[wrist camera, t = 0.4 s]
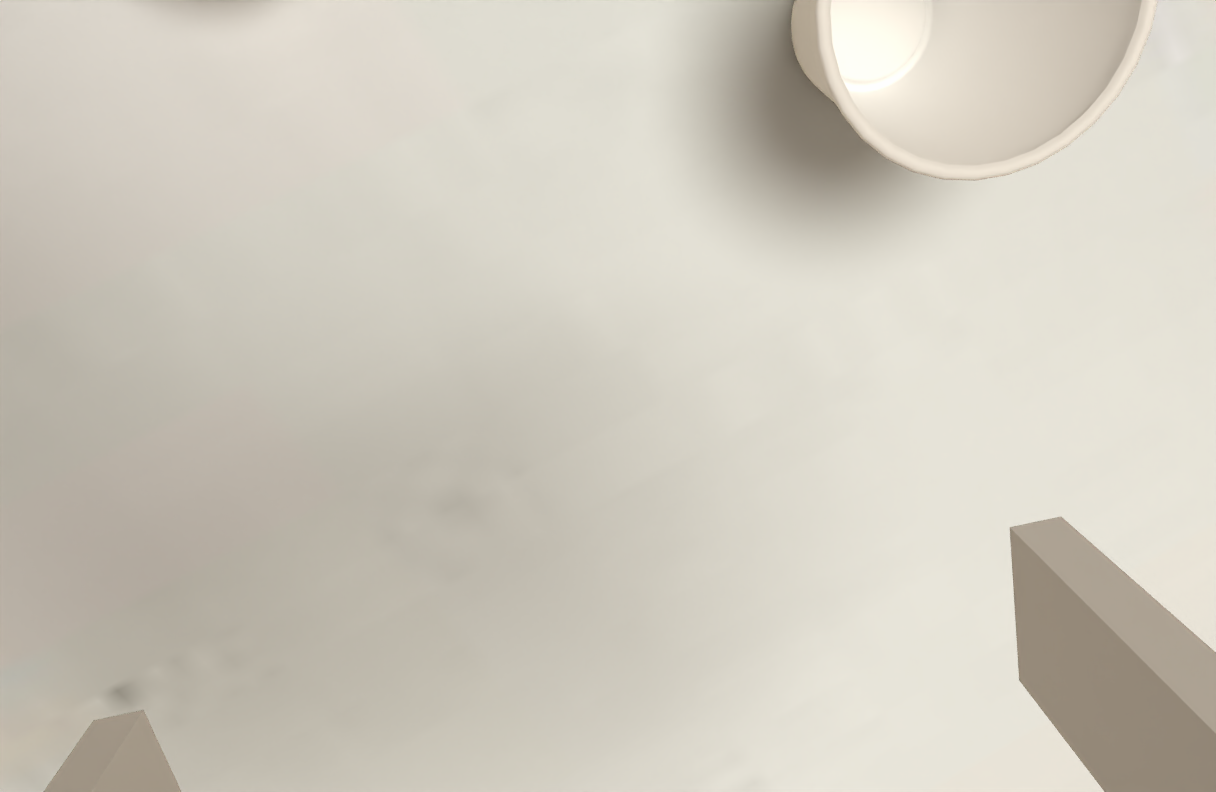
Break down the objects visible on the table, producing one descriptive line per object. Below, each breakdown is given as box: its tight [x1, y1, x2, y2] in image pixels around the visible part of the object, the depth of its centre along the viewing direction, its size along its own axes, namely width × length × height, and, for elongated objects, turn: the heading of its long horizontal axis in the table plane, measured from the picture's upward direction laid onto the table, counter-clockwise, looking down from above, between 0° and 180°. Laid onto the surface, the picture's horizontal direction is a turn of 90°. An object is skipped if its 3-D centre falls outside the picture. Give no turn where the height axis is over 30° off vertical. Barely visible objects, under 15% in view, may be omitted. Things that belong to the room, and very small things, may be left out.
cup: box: [791, 0, 1158, 181], centre depth 31 cm, size 10×10×11 cm
